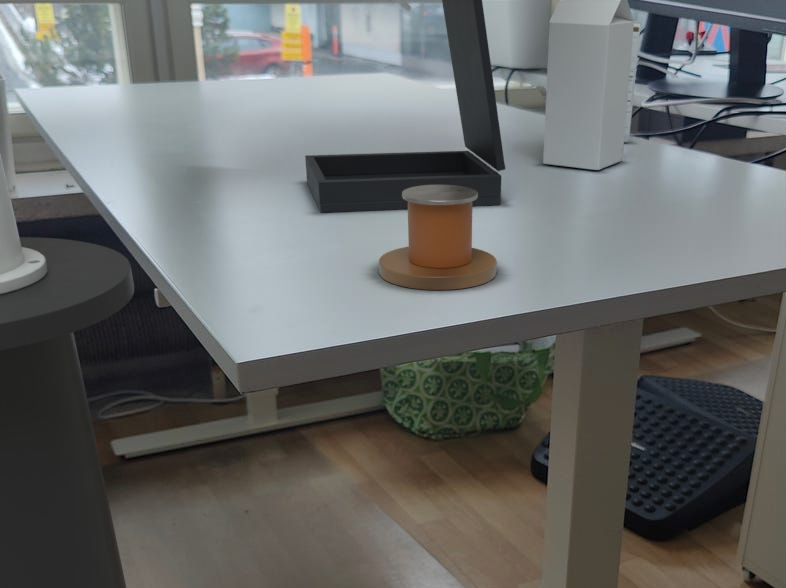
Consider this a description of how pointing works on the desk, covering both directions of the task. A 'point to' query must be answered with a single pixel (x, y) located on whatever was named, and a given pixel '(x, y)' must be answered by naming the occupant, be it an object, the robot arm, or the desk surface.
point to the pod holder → (395, 178)
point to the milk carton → (587, 83)
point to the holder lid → (474, 79)
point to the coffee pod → (440, 225)
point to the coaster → (436, 271)
